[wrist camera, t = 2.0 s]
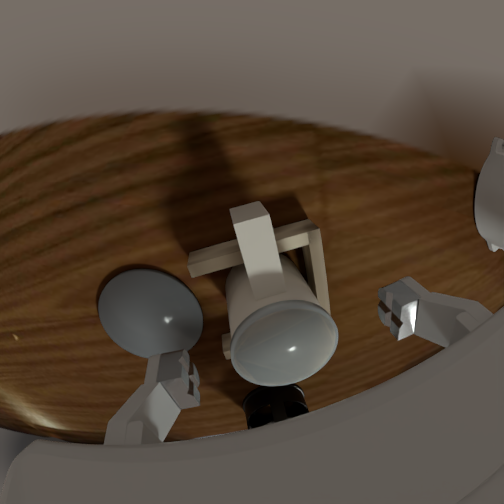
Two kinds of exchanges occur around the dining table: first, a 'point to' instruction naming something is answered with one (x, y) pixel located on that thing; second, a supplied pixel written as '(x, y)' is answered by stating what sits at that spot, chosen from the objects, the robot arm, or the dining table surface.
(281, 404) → the french press
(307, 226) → the stand
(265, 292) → the white handled cylinder
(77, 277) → the dining table surface
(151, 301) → the mat
